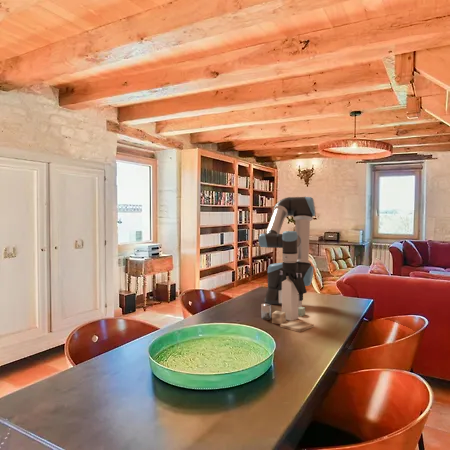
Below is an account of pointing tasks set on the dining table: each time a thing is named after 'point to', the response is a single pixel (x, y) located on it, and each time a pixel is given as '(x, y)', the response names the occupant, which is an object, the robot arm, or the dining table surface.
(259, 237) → the robot arm
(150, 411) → the dining table surface
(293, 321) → the plate
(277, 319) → the beech cube
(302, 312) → the sage block
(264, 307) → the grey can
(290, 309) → the milk
